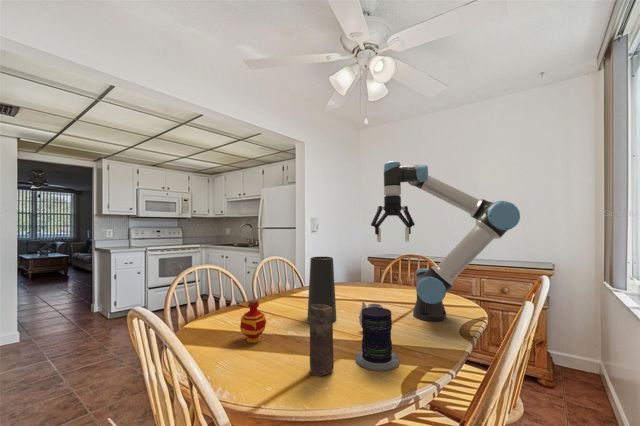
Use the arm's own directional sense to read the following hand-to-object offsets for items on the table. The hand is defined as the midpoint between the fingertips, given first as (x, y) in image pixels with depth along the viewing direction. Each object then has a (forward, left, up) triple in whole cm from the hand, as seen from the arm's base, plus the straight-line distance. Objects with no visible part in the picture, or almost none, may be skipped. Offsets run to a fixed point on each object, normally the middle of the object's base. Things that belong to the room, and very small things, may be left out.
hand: (393, 241), depth 141 cm
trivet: (+20, +37, -37) cm, 55 cm away
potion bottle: (+62, +13, -37) cm, 73 cm away
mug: (+13, +8, -37) cm, 40 cm away
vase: (+32, -8, -37) cm, 49 cm away
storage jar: (+20, +37, -36) cm, 55 cm away
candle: (+39, +41, -37) cm, 67 cm away
